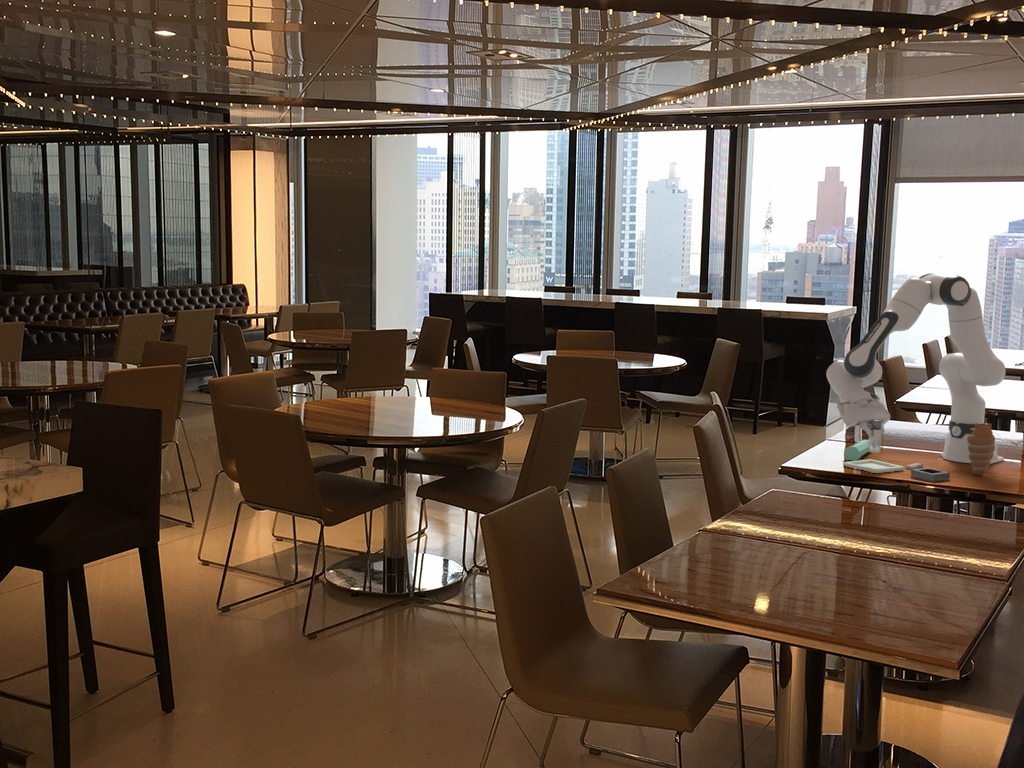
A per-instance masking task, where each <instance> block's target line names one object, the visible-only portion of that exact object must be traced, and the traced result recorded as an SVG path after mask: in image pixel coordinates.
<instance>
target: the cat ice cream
mask: <svg viewBox="0 0 1024 768" xmlns="http://www.w3.org/2000/svg"><path fill="white" fill-rule="evenodd" d="M967 441H968V443H969V445H968V450H969V452H970V454H969V459H970V460H971V463H970V466H971V468H972V473H973V474H974V475H976V476H978V477H981V476H985V475H986V473H987V472H988V467H989V466H990V465H991V464H992V463H991V459H992V458H993V455H994V454H993V452H994V450H995V445H994V443H996V438H995V435H994V434H993V430H992V423H987V425H986V426H985V425H979V424H977V423H975V429H974V430H973V432H972V434H971V435H969V436H968V438H967ZM990 463H991V464H990Z"/></svg>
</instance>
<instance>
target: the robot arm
mask: <svg viewBox="0 0 1024 768" xmlns="http://www.w3.org/2000/svg"><path fill="white" fill-rule="evenodd" d="M928 304H931V305H936V306H937V305H938V306H941V305H943V306H946V308H947V314H948V325H949V334H950V339H951V341H952V343H953V344H954V345H955V346H956V347H958V349H959V350H960V352H953V353H947V354H945V355H944V356H943V357H942V358H941V359H940V361H939V364H938V370H939V371H938V372H939V374H940V375H941V376H942V378H944V380H945V381H946V384H947V386H948V389H949V393H950V398H951V407H950V408H951V410H950V411H951V412H950V420H949V421H948V430H949V431H948V433H947V434H946V436H945V441H944V447H943V451H942V452H940V453H941V454H940V456H941V457H942V458H943V459H944V460H946V461H950V462H956V463H964V464H971V460H970V459H969V454H970V452H969V450H968V445H969V443H968V441H967V438H968V436H969V435H971V434H972V432H973V430H974V429H975V423H977V424H979V425H985V426H986V425H987V424H988V423H985V416H986V415H985V414H986V401H985V399H984V397H982V396H981V395H980V393H979V392H978V389H977V386H979V387H993V386H998V385H999V384H1001V383H1002V382H1003V380H1004V379H1005V376H1006V366H1005V363H1004V362H1003V361H1002V360H1001V359H1000V358H998V356H996V354H995V353H994V351H993V350H992V348H991V347H990V344H989V342H988V339H987V336H986V332H985V325H984V319H983V318H984V316H983V310H982V306H981V301H980V298H979V295H978V292H977V291H976V289H974V288H973V287H971V286H970V284H969V282H968V280H967V279H966V278H964V277H963V276H961V275H959V274H950V273H943V272H942V273H926V274H923V275H921V276H919V277H910V278H908V279H906V280H905V281H904V283H902V284H901V286H900V287H899V289H898V290H897V291H896V292H895V294H894V295H893V296H892V298H891V300H890V301H889V302H888V304H887V306H886V307H885V309H884V311H883V312H882V313H881V315H880V316H879V317H878V318H877V319H876V320H875V322H874V323H873V324H872V326H871V327H870V329H869V330H868V331H867V332H866V334H865V335H864V337H863V338H862V339H861V340H860V342H859V343H858V344H857V345H855V346H854V347H853V348H851V349H850V350H849V351H848V352H847V353H846V354H845V356H844V360H843V359H842V360H841V359H839V360H836V361H834V362H833V363H831V364H830V365H829V366H828V368H827V369H826V379H827V382H828V383H829V385H830V387H831V388H832V390H833V392H834V393H835V394H836V395H837V396H838V398H839V401H840V402H838V403H837V406H836V408H837V409H838V413H839V415H840V417H841V419H842V422H843V423H844V425H846V426H847V427H858V426H859V427H860V429H861V430H863V431H864V432H866V434H867V436H869V435H872V434H873V433H874V431H873V429H872V428H870V426H871V420H881V421H882V422H881V429H882V434H881V435H883V434H884V433H885V432H886V431H885V429H884V427H883V425H884V424H886V423H888V422H889V421H890V420H891V414H890V412H889V410H888V408H886V406H885V405H884V403H883V402H882V401H880V399H881V398H880V396H879V395H878V394H875V393H871V392H869V391H868V390H865V388H867V387H871V386H872V385H874V384H876V383H877V382H879V381H880V380H881V378H882V375H883V373H884V371H883V367H882V365H881V363H880V362H879V361H878V359H876V358H877V357H876V356H877V353H878V351H879V350H880V348H881V347H882V346H883V344H884V343H885V342H886V340H887V338H888V337H889V336H890V335H891V334H892V333H895V332H905V331H907V330H910V329H911V328H912V327H913V325H915V323H916V322H917V321H918V319H919V318H920V316H921V314H922V312H923V311H924V309H925V307H926V306H927V305H928ZM994 445H995V450H994V452H993V454H994V455H993V458H992V459H991V463H990V465H992V464H995V463H998V462H1003V461H1005V458H1004V457H1003V456H1000V455H998V443H996V442H995V443H994Z"/></svg>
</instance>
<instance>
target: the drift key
mask: <svg viewBox="0 0 1024 768" xmlns="http://www.w3.org/2000/svg"><path fill="white" fill-rule="evenodd" d="M906 468H907V469H906ZM921 468H924V464H923V463H919V462H915V463H914V462H913V463H911V464H907V465H906V466H905V469H906V470H910V469H911V470H913V469H921ZM911 470H910V471H911Z"/></svg>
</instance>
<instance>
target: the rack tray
mask: <svg viewBox="0 0 1024 768" xmlns="http://www.w3.org/2000/svg"><path fill="white" fill-rule="evenodd" d="M842 462H843V463H842V467H843V466H846V467H845V468H847V467H850V468H849V469H851V468H856V469H860V470H864V471H869V472H873V473H882V472H891V473H895V472H894V471H899V472H904V470H905V466H904V465H903V466H902V465H900V464H895V463H894V464H893V463H890V462H885V461H881V460H876V459H872V458H869V459H862V460H861V459H858V460H856V461H842ZM860 470H859V471H860ZM864 471H863V472H864Z"/></svg>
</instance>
